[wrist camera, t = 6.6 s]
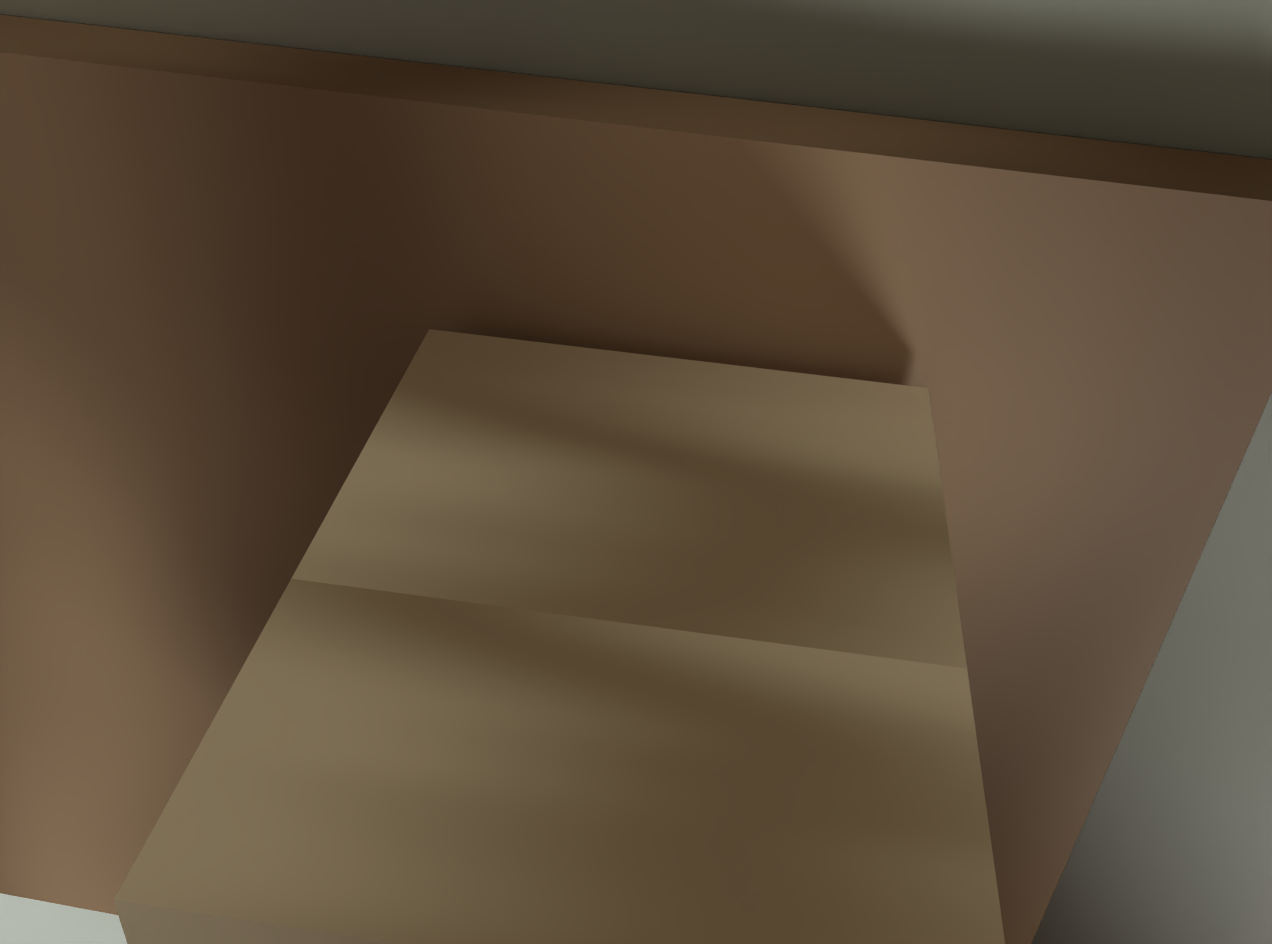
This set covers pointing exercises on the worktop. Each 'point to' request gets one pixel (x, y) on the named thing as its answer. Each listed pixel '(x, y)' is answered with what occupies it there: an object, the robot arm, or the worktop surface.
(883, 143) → the base
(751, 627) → the block
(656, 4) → the worktop surface
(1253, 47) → the worktop surface
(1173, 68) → the worktop surface
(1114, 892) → the worktop surface
